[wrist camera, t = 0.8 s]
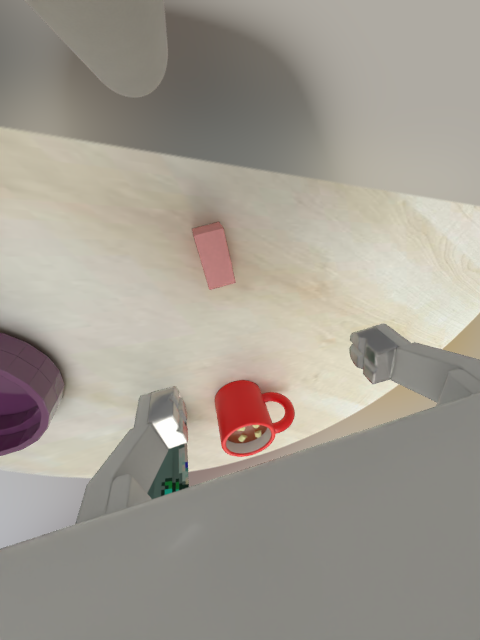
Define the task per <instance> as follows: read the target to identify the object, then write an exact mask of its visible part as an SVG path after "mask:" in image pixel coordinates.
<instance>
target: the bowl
mask: <svg viewBox="0 0 480 640" xmlns="http://www.w3.org/2000/svg"><path fill="white" fill-rule="evenodd" d="M63 391H64V382H63V379H62V376H61V373H60V370H59V369H58V368H57V367H56V365H55V364H54V363H53V362H52V361H51V359H50V358H49V357H48V356H47V355H45V354H44V353H42V352H41V351H39V350H38V349H36V348H35V347H33V346H32V345H30V344H29V343H27V342H24V341H22V340H19V339H17V338H14V337H12V336H9V335H7V334H4V333H0V456H2V455H6V454H9V453H12V452H16V451H19V450H22V449H24V448H26V447H28V446H29V445H31V444H33V443H34V442H36V441H38V440H39V439H40V437H41V436H42V435H43V433H44V432H45V431H46V430H47V428H48V426H49V424H50V422H51V420H52V418H53V416H54V414H55V412H56V410H57V408H58V406H59V404H60V401H61V399H62V396H63Z"/></svg>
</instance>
